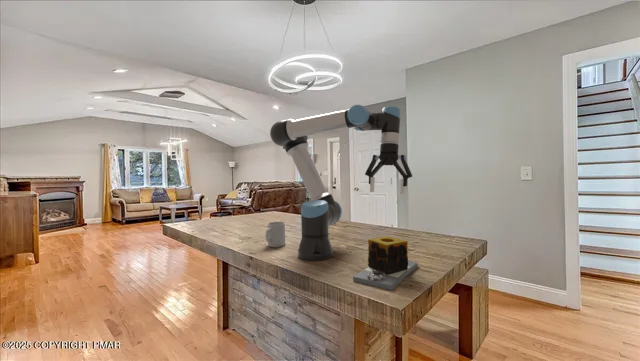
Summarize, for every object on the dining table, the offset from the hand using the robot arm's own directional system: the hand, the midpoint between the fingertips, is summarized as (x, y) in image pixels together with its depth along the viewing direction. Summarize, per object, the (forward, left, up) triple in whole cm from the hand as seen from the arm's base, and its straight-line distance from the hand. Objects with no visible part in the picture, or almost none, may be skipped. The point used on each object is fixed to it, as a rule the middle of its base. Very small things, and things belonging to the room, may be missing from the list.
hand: (386, 193), depth 117 cm
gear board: (+9, -21, -27) cm, 35 cm away
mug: (-52, -16, -27) cm, 61 cm away
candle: (+9, -21, -25) cm, 34 cm away
